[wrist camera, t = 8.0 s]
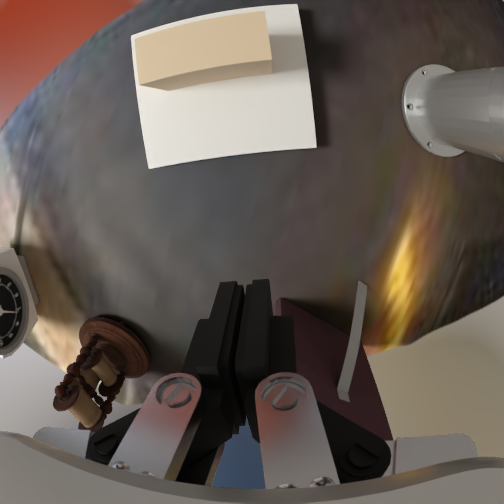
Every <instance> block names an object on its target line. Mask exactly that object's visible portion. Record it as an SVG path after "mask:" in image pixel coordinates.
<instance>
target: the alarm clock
mask: <svg viewBox="0 0 504 504" xmlns="http://www.w3.org/2000/svg"><path fill="white" fill-rule="evenodd" d="M38 303H39V299H38V297H37V294H36V291H35V288H34V285H33V282H32V279H31V276H30V273H29V270H28V267H27V264H26V260H25V257H24V256H19V255H16V253H15V251H14V248H5V247H0V357H1V358H3V359H4V358H6V357H8V356H11V355H12V354H13V353H14V352H15V351H16V350H17V349H18V348H19V347H20V346H21V344H22V343H23V342H24V341H25V339H26V338H27V336H28V335H29V333H30V332H31V331H32V329H33V327H34V326H35V324H36V322H37V321H38V316H37V313H36V309H35V306H36V305H37V304H38Z"/></svg>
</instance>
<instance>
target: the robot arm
mask: <svg viewBox="0 0 504 504" xmlns="http://www.w3.org/2000/svg"><path fill="white" fill-rule="evenodd" d="M422 73H423V74H422ZM407 105H408V106H409V108H407ZM402 111H403V116H404V120H405V123H406V125H407V128H408V130H409V131H410V133H411V135H412V136H413V138H414V139H415V140H416V142H417V143H418V144H419V145H420V146H421V147H422V148H424V149H425V150H427V151H428V152H430V153H433V154H435V155H438V156H442V157H453V156H457V155H459V154H461V153H463V152H464V151H467V152H471V153H474V154H478V155H481V156H484V157H487V158H491V159H494V160H497V161H500V162H503V163H504V67H495V68H484V69H475V70H468V71H460V72H455V71H453V70H452V69H450V68H448V67H445V66H442V65H436V64H431V65H426V66H423V67H420V68H418V69H417V70H415V71H414V72H413V73H412V74H411V75H410V76H409V77H408V79H407V81H406V82H405V85H404V88H403V92H402ZM427 144H428V146H427ZM246 415H247V419H248V422H249V426H250V429H251V433H252V436H253V438H254V439H255V440H256V441H257V442H258V443H260V445H261V453H262V461H263V469H264V477H265V485H266V489H241V488H224V487H214V486H211V485H212V482H213V479H214V477H215V473H216V471H217V468H218V465H219V462H220V459H221V456H222V453H223V450H224V445H225V444H224V442H226V441H227V440H229V439H230V438H232V434H238V433H239V426H245V422H246ZM0 504H504V458H499V457H477V449H476V446H475V442H474V441H473V440H472V439H471V438H470V437H469V436H467V435H465V434H448V435H438V436H425V437H406V438H405V437H404V438H397V439H396V440H395V441H384V440H383V439H382V438H380V437H379V436H377V435H375V434H374V433H372V432H370V431H368V430H366V429H365V428H363V427H361V426H359V425H358V424H356V423H354V422H352V421H351V420H349V419H347V418H345V417H344V416H342V415H340V414H339V413H337V412H335V411H334V410H332V409H330V408H329V407H327V406H326V405H324V404H322V403H321V402H319V401H318V400H316V399H315V396H314V392H313V389H312V386H311V385H310V383H309V381H308V380H306V379H305V378H304V377H303V376H301V375H298V374H297V367H296V351H295V336H294V321H293V315H281V316H273V311H272V302H271V292H270V283H269V279H261V280H253V282H252V284H248V285H247V287H246V294H244V288H243V285H238V284H237V282H236V281H231V282H220V285H219V288H218V291H217V294H216V298H215V301H214V304H213V307H212V311H211V314H210V317H209V319H200V320H199V321H198V324H197V326H196V329H195V332H194V335H193V338H192V341H191V344H190V347H189V350H188V353H187V356H186V359H185V362H184V365H183V368H182V371H181V373H174V374H170V375H167V376H165V377H163V378H161V379H160V380H159V381H157V382H156V384H155V385H154V386H153V388H152V389H151V391H150V393H149V394H148V396H147V398H146V400H145V401H144V403H143V405H142V407H141V408H139V409H137V410H136V411H134V412H132V413H130V414H128V415H126V416H124V417H122V418H120V419H118V420H116V421H115V422H113V423H111V424H109V425H107V426H105V427H103V428H101V429H99V430H97V431H96V432H95V433H92V432H91V430H78V429H63V428H52V427H45V428H42V429H40V430H38V431H37V432H36V433H35V435H34V437H33V438H31V437H28V436H25V435H22V434H19V433H14V432H2V431H0Z"/></svg>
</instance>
